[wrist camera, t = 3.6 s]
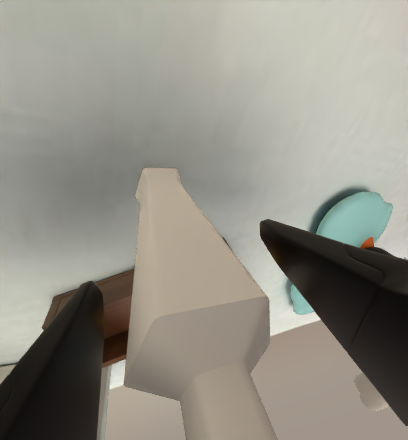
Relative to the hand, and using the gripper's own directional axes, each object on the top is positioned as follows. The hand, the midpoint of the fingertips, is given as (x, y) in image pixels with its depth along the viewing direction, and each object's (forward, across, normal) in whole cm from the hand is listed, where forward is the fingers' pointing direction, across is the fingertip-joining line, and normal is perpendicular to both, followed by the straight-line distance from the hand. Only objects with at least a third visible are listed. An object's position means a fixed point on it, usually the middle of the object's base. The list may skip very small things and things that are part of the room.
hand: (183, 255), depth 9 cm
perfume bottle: (+8, 0, 0) cm, 8 cm away
